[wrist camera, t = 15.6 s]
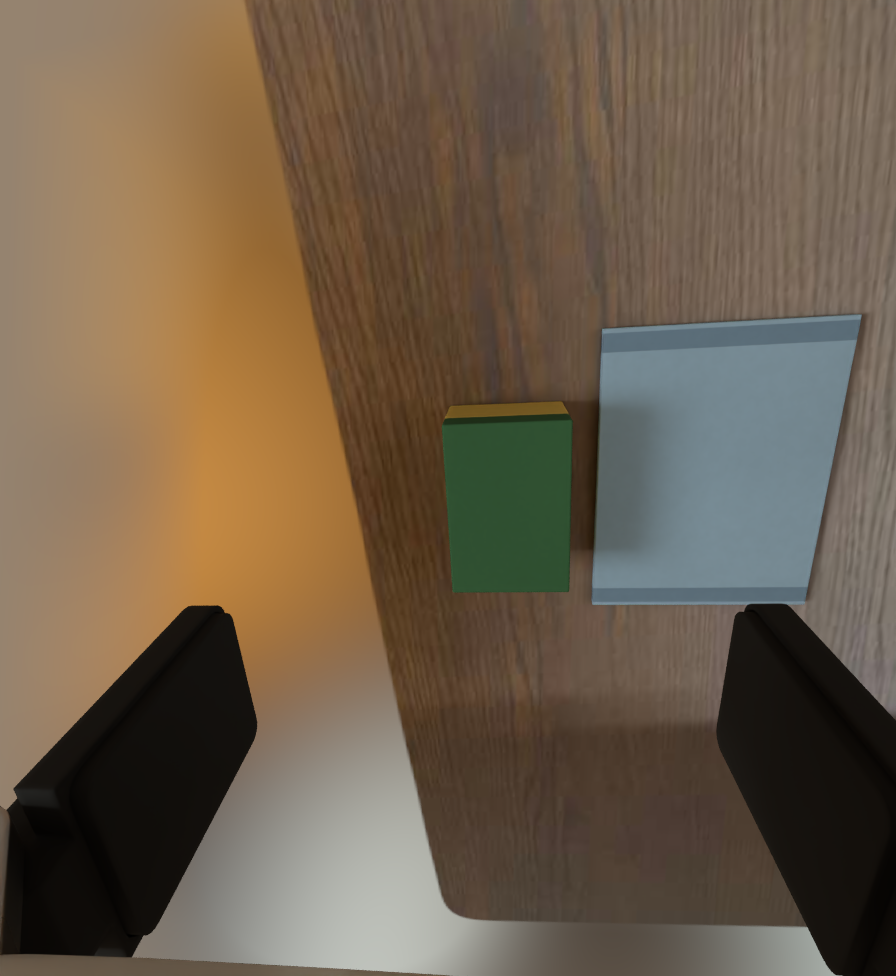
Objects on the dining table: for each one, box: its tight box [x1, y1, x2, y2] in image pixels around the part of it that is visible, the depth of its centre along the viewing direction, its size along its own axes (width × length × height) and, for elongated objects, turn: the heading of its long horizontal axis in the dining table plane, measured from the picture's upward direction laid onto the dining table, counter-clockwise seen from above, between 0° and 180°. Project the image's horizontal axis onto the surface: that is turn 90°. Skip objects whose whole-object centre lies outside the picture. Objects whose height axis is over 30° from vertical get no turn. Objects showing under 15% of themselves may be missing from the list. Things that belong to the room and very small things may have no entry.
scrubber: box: [442, 401, 573, 592], centre depth 28 cm, size 9×6×4 cm, turn 3°
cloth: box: [592, 314, 862, 605], centre depth 28 cm, size 12×16×1 cm
